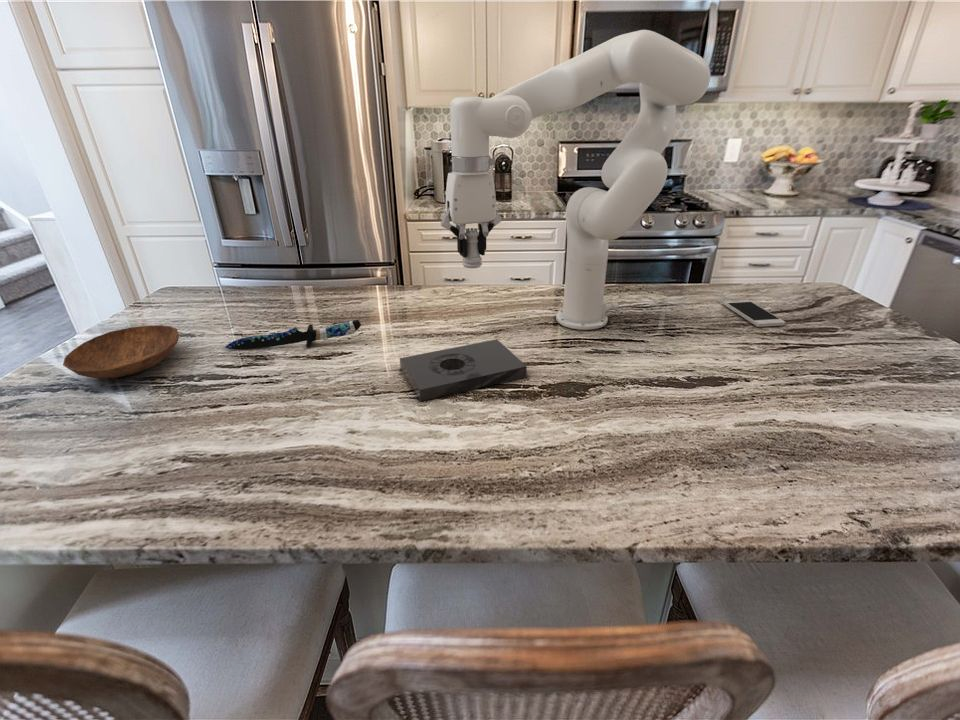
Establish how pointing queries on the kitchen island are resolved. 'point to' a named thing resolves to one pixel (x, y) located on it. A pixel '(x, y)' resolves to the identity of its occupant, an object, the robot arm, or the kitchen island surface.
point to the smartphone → (754, 313)
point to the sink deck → (461, 369)
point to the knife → (295, 336)
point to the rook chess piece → (472, 250)
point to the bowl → (122, 351)
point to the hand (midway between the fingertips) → (472, 254)
